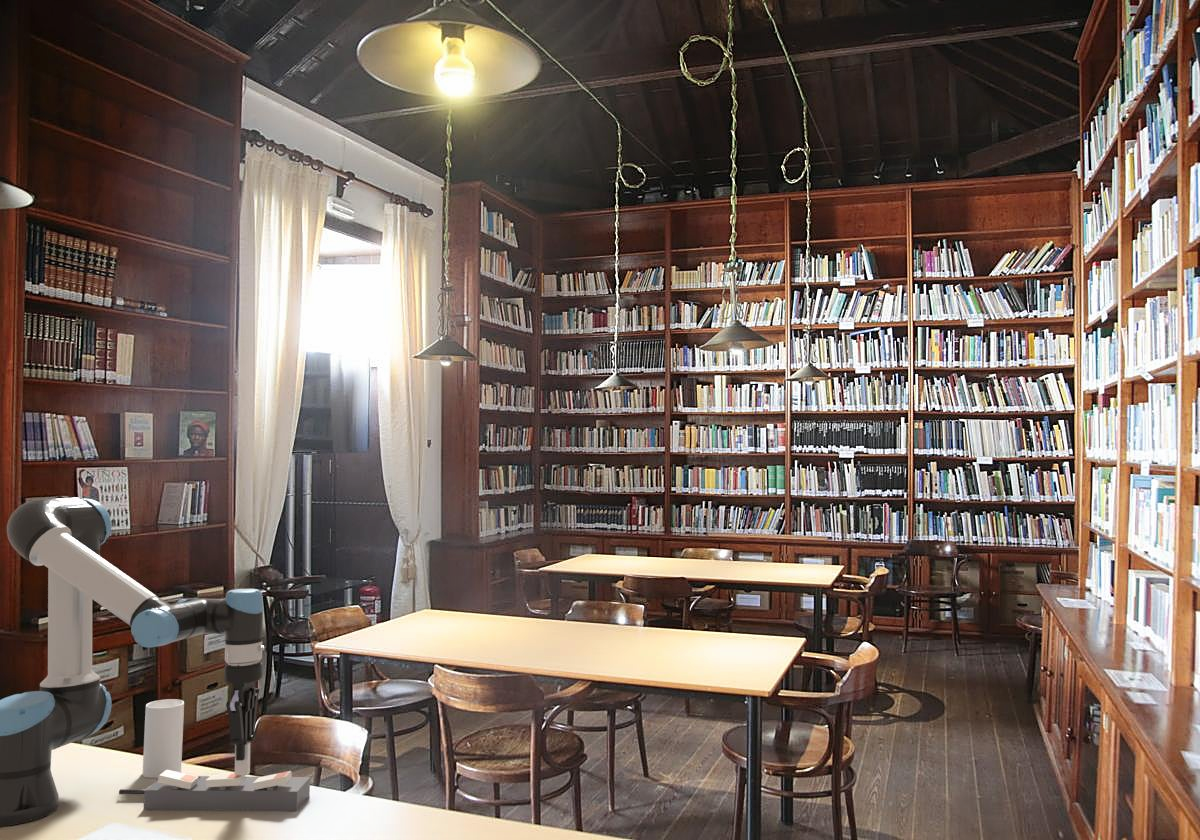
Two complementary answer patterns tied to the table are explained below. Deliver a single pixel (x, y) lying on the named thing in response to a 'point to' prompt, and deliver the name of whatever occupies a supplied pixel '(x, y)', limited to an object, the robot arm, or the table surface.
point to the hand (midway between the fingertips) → (242, 773)
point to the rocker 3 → (272, 780)
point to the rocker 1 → (178, 779)
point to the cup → (163, 737)
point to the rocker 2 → (224, 780)
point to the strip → (225, 796)
